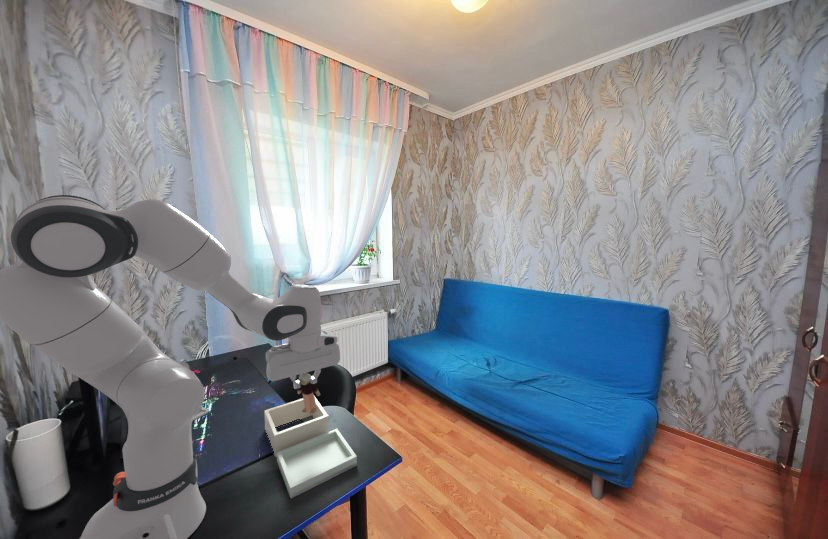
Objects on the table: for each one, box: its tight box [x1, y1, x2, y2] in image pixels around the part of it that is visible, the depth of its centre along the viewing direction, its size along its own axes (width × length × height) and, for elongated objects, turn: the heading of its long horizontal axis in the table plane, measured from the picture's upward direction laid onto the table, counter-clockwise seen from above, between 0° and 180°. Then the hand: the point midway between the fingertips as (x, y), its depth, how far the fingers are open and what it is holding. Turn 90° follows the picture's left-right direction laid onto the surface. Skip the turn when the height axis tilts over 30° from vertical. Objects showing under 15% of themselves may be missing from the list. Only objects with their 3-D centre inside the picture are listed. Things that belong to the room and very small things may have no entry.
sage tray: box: [276, 428, 358, 499], centre depth 85 cm, size 18×14×3 cm
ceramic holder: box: [263, 395, 330, 458], centre depth 96 cm, size 16×14×7 cm
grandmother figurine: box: [297, 372, 321, 413], centre depth 88 cm, size 8×4×13 cm, turn 84°
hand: (305, 385), depth 87 cm, fingers open, 3 cm apart
